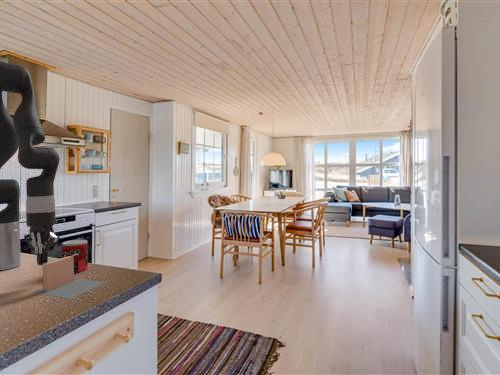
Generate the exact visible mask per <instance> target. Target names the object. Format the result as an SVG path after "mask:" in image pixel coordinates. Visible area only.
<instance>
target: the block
mask: <svg viewBox="0 0 500 375" xmlns="http://www.w3.org/2000/svg"><path fill="white" fill-rule="evenodd" d="M41 267H42V268H41V269H42V288H43V291H50V290H52V289H55V288H57V287H60V286H62V285H65V284H67V283H70V282H73V281H74V278H75V273H74V258H73V256H68V257H64V258H62V257H61V258H59V259H56V260H52V261H48V262H47V263H44V264H42V265H41Z"/></svg>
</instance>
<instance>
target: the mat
mask: <svg viewBox="0 0 500 375" xmlns="http://www.w3.org/2000/svg"><path fill="white" fill-rule="evenodd" d="M105 284H106V282H104V281H99V280H98V281H97V280H92V279H91V280H89V279H83V278H76V277H74V281H73V282H70V283H67V284H65V285H62V286H60V287H57V288H55V289H52V290H50V291H43V287H40V288H39V289H36V290H33V291H31V293H33V294H39V295H45V296H52V297H56V298H62V299H69V300H71V299H74V298H75V297H79V296H80V295H82V294H85V293H87V292H89V291H91V290H93V289H96V288H98V287H100V286H102V285H105Z"/></svg>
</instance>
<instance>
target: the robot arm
mask: <svg viewBox="0 0 500 375" xmlns="http://www.w3.org/2000/svg"><path fill="white" fill-rule="evenodd" d="M3 92H6V93H12V94H13V93H15V94H19V95H20V96H21V102H20V103H19V105H18V106H17V108H16V110H15V112H14V113H13V116H11V114H10V113H9V111H8V109H7V107H6V106H5V104H4V101H3ZM36 102H37V101H36V96H35V89H34V84H33V80H32V76H31V74H30V71H29V70H28V69H27V68H26V67H24V66H22V65H18V64H15V63H14V64H13V63H9V62H5V61H1V60H0V170H1V169H2V168H3V166H4V165H5V164H7V162H8V161H9V160H10V159H12V157H14V155H15V154H16V153H17V162H18V163H19V165H20V166H22V167H23V168H24V169H27V170H41V171H42V172H41V173H40V174H39V175H38V176H33V177H29V178H27V179H26V182H25V184H26V185H25V187H26V190H25V191H26V199H25V217H26V218H25V220H26V222H25V224H26V227H29V233H28V234H24V235H23V239H24V240H25V243H26V244H27V246H28V247H29V249H30V251H32V252H35V254H36V263H37V265H38V266H42V264H44V263H47V262H49V260H48V259H49V258H48V257H49V256H48V253H49V252H52V251H54V250H55V248H56V245H57V244H58V242H59V241H60V239H61V237H60V236H59V235H56V234H55V230H54V225H56V200H55V195H54V194H55V186H54V183H55V179H56V174H57V172H58V168H59V164H60V155H59V152H58V151H57V150H56V149H55V148H53V147H50V146H49V147H48V146H47V147H46V146H39V145H41V144H43V143H44V142H45V140H46V134H45V131H44V129H43V127H42V124H41V120H40V117H39V115H38V114H39V113H38V108H37V103H36ZM20 191H21V189H20V184H19V182H18V180H16V179H7V178H6V179H2V178H1V179H0V205H6V207H5V208H3V209H1V210H0V271H4V270H5V271H6V270H10V269H14V268H18V267H19V266H21V265H22V264H21V263H22V262H21V232H20V231H21V229H20V224H21V223H20V197H21V195H20V194H21V192H20Z"/></svg>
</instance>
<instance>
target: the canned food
mask: <svg viewBox="0 0 500 375" xmlns="http://www.w3.org/2000/svg"><path fill="white" fill-rule="evenodd" d="M88 244H89V243H88V240H87V239H72V240H71V239H70V240H67V241H64V242H62V243H61V256H62V257H61V258H64V257H68V256H73V258H74V274H80V273H83V272H85V271H87V270H88V269H89V253H88V252H89V250H88V249H89V248H88V247H89V245H88Z"/></svg>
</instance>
